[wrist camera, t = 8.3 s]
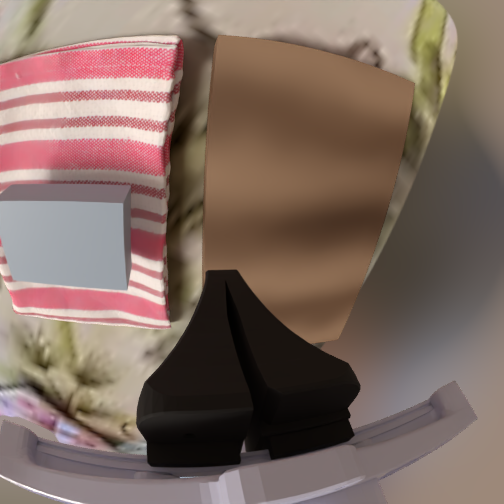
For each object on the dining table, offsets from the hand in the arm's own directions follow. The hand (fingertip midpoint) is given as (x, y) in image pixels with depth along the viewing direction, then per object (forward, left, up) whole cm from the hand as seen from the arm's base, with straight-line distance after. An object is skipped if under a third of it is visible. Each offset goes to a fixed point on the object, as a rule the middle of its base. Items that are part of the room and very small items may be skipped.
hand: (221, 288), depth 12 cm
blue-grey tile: (0, +10, -6) cm, 12 cm away
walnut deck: (0, -5, -9) cm, 10 cm away
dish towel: (+1, +11, -10) cm, 15 cm away
